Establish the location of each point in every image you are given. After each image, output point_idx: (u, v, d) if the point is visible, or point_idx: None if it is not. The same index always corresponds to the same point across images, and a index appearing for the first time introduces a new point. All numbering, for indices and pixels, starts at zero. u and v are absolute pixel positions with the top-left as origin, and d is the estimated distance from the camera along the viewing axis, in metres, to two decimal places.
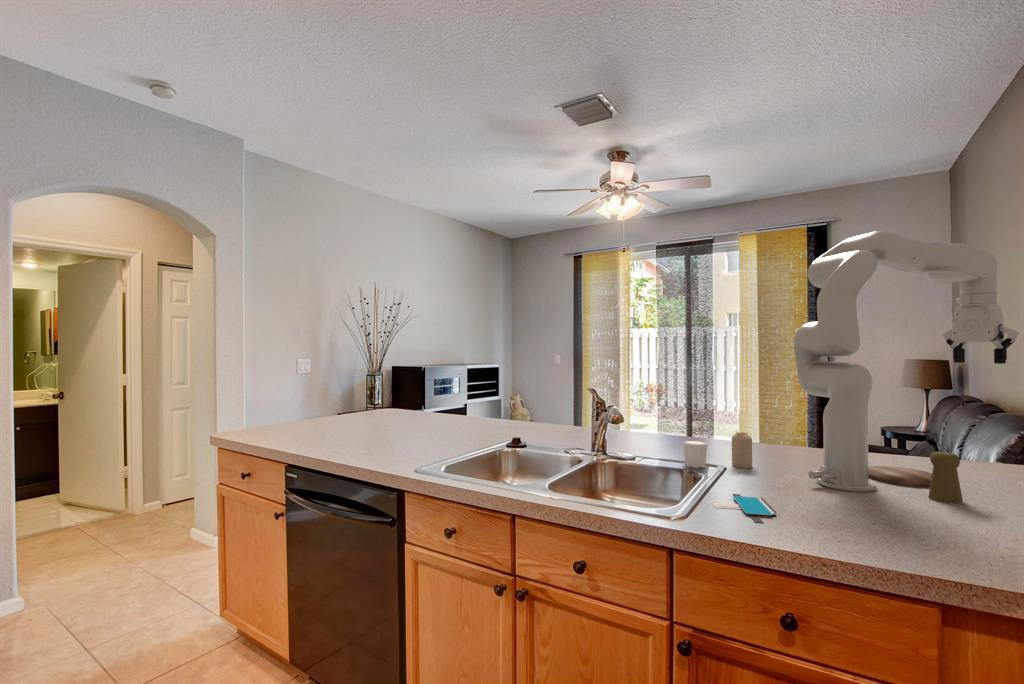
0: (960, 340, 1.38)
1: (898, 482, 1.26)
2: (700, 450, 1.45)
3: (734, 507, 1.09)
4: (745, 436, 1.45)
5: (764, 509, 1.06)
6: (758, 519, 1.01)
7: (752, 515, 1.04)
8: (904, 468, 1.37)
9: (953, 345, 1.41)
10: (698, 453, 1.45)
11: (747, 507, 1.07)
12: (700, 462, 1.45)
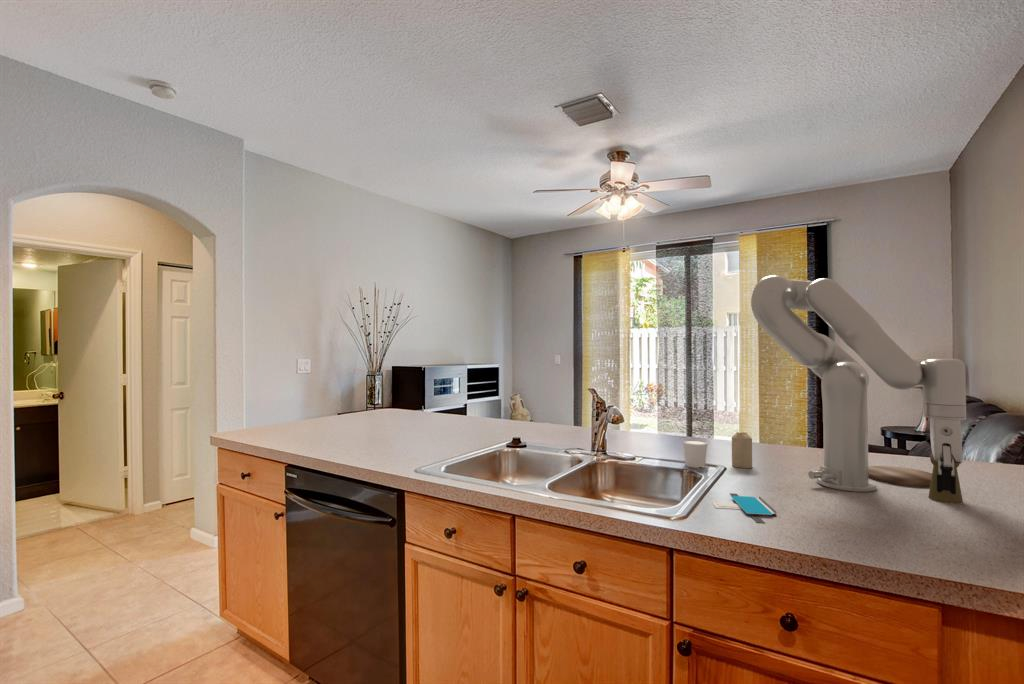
0: None
1: (898, 482, 1.26)
2: (700, 450, 1.45)
3: (734, 507, 1.09)
4: (745, 436, 1.45)
5: (764, 509, 1.06)
6: (759, 519, 1.01)
7: (752, 515, 1.04)
8: (904, 468, 1.37)
9: (953, 473, 1.11)
10: (698, 453, 1.45)
11: (747, 507, 1.07)
12: (700, 462, 1.45)
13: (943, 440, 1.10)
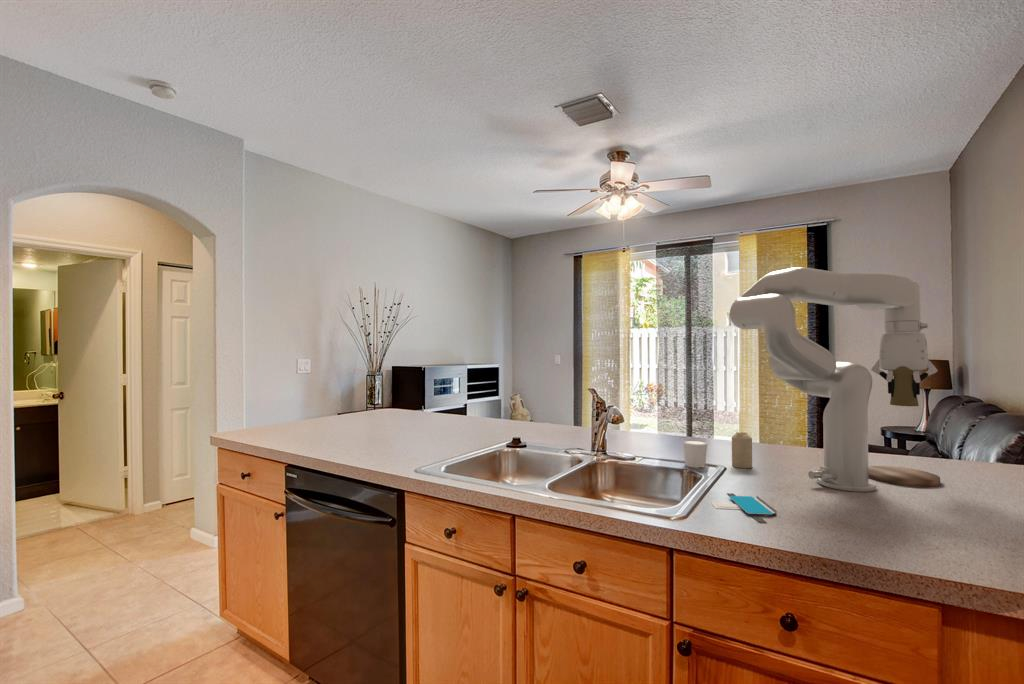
0: None
1: (898, 482, 1.26)
2: (700, 450, 1.45)
3: (733, 507, 1.08)
4: (745, 436, 1.45)
5: (763, 508, 1.06)
6: (760, 519, 1.01)
7: (753, 515, 1.04)
8: (904, 468, 1.37)
9: None
10: (698, 453, 1.45)
11: (746, 507, 1.07)
12: (700, 462, 1.45)
13: (927, 351, 1.28)
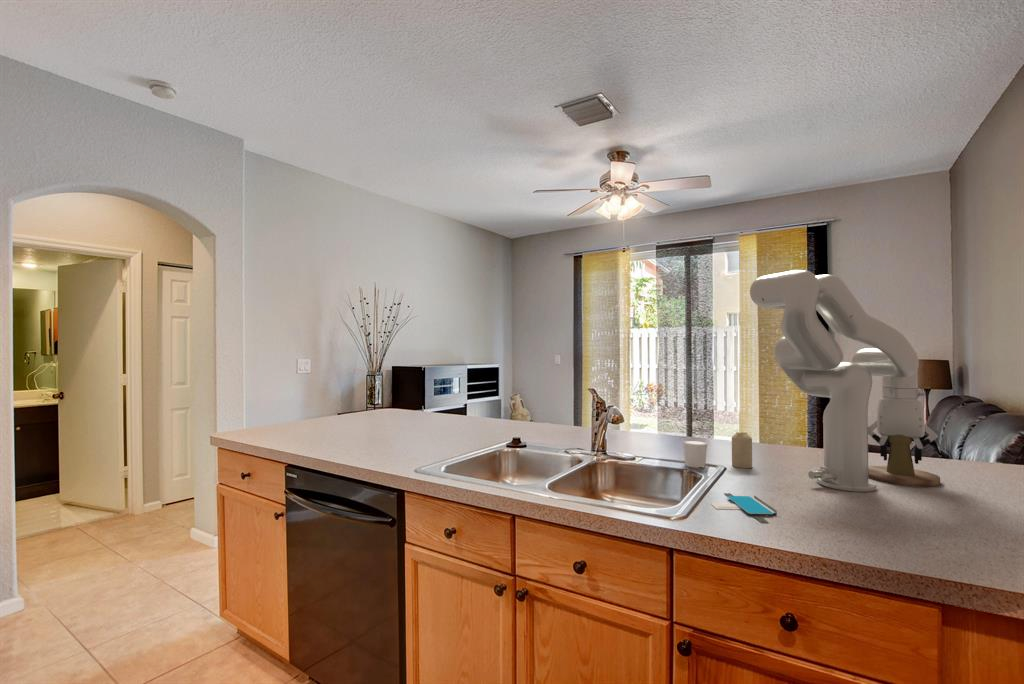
0: None
1: (898, 482, 1.26)
2: (700, 450, 1.45)
3: (733, 507, 1.08)
4: (745, 436, 1.45)
5: (763, 508, 1.07)
6: (762, 519, 1.01)
7: (754, 515, 1.04)
8: None
9: None
10: (698, 453, 1.45)
11: (746, 507, 1.07)
12: (700, 462, 1.45)
13: None
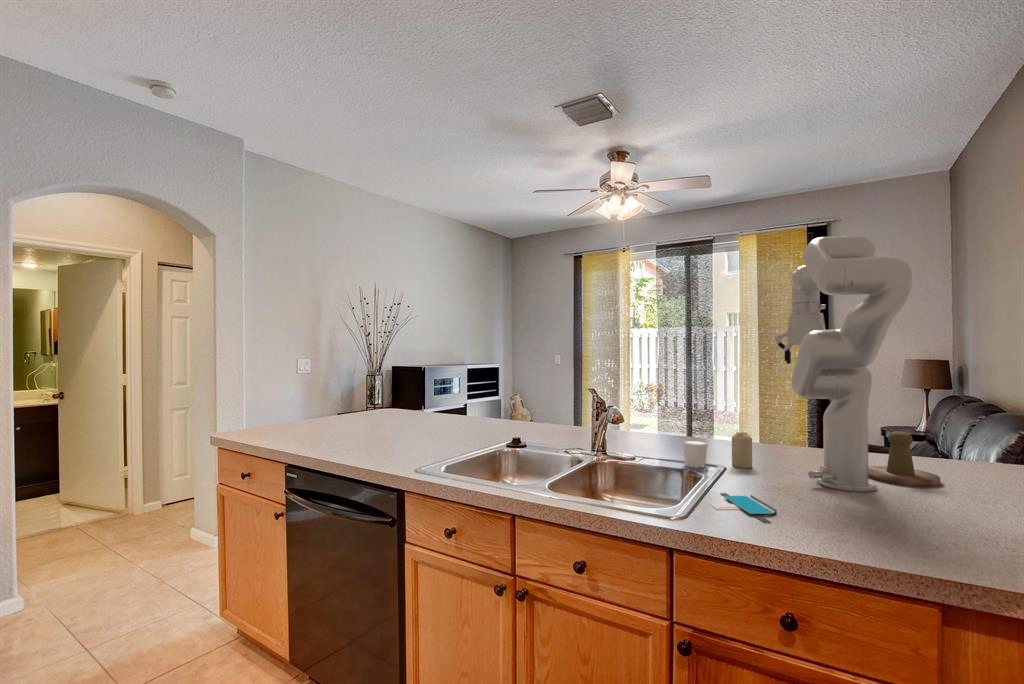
0: None
1: (898, 482, 1.26)
2: (700, 450, 1.45)
3: (733, 507, 1.08)
4: (745, 436, 1.45)
5: (762, 508, 1.07)
6: (764, 519, 1.01)
7: (755, 515, 1.04)
8: None
9: None
10: (698, 453, 1.45)
11: (746, 507, 1.07)
12: (700, 462, 1.45)
13: (824, 328, 1.50)
